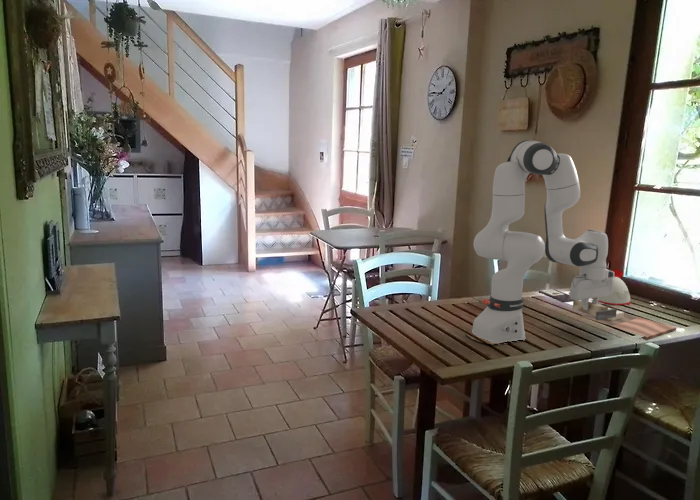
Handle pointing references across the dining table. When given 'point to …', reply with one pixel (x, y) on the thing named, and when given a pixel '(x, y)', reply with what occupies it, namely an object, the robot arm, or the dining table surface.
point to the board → (636, 325)
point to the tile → (617, 315)
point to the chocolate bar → (557, 295)
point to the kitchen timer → (617, 292)
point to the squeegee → (595, 310)
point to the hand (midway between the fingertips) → (589, 309)
